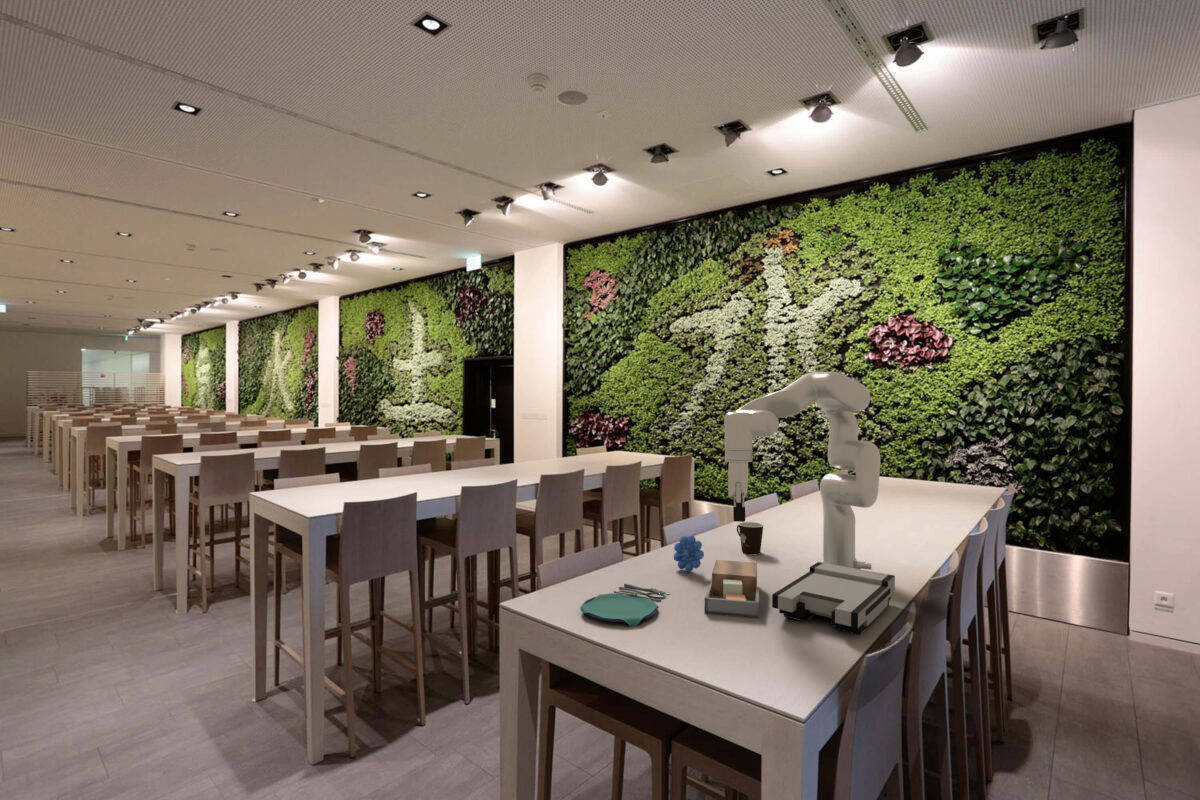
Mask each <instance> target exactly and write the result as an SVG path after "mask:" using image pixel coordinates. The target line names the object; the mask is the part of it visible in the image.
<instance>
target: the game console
mask: <svg viewBox="0 0 1200 800" xmlns="http://www.w3.org/2000/svg"><path fill="white" fill-rule="evenodd" d="M895 590H896V575H895V574H894V575H893V574H888V573H882V572H876V571H871V570H867V569H855V568H850V567H844V566H838V565H833V564H827V563H823V561H822V562H821V561H817V562H815V563H814V564H812V565H810V567H809V571H808V572H806V573H804V574H803V575H801V576H799V578H797V579H795V580H793V581H792V582H790V583H789V584H787V585H785V586H784V587H783V588H781V589H778V590H777V591H775V592H774V593H772V594H771V596H772V597H771V601H772V602H771V603H772V604H771V607H772V608H773V609H777V610H778V612H779V614H782V615H784V616H783V617H786V616H787V618H790V617H791V618H790V619H794V618H795V620H798V619H799V620H798V621H802V620H803V622H808V621H809V620H810V619H812V618H813V617H814V616H815V615H818V616H822V617H826V618H830V619H831V626H832V627H834V629H835V628H836V630H839V629H840V631H843V630H845V631H844V632H847V631H848V632H847V633H851V632H853V633H852V634H855V633H856V635H859V634H861V633H862V632H863V631H864V630H865V629H866V628H867V627H868V626H869V625H870V624H871V623H872V622H873V621H874V620H875V619H876V618H877V617H878V616H879V615H880V614H881V613H882V612H883V611H884V610H885V609H886V608H887V607H888V606H889V607H890V605H889V604H890V601H891V599H892V596H893V595H894V594H895V593H896V591H895ZM889 607H888V608H889ZM888 608H887V609H888ZM887 609H886V610H887ZM886 610H885V611H886ZM885 611H884V612H885ZM884 612H883V613H884ZM883 613H882V614H883ZM882 614H881V615H882ZM813 615H814V616H813ZM881 615H880V616H881ZM812 616H813V617H812ZM880 616H879V617H880ZM879 617H878V618H879ZM878 618H877V619H878ZM808 619H809V620H808ZM877 619H876V620H877ZM876 620H875V621H876ZM875 621H874V622H875ZM874 622H873V623H874ZM873 623H872V624H873ZM872 624H871V625H872ZM871 625H870V626H871ZM870 626H869V627H870ZM869 627H868V628H869ZM868 628H867V629H868ZM867 629H866V630H867ZM866 630H865V631H866ZM865 631H864V632H865ZM864 632H863V633H864ZM863 633H862V634H863ZM862 634H861V635H862Z"/></svg>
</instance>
